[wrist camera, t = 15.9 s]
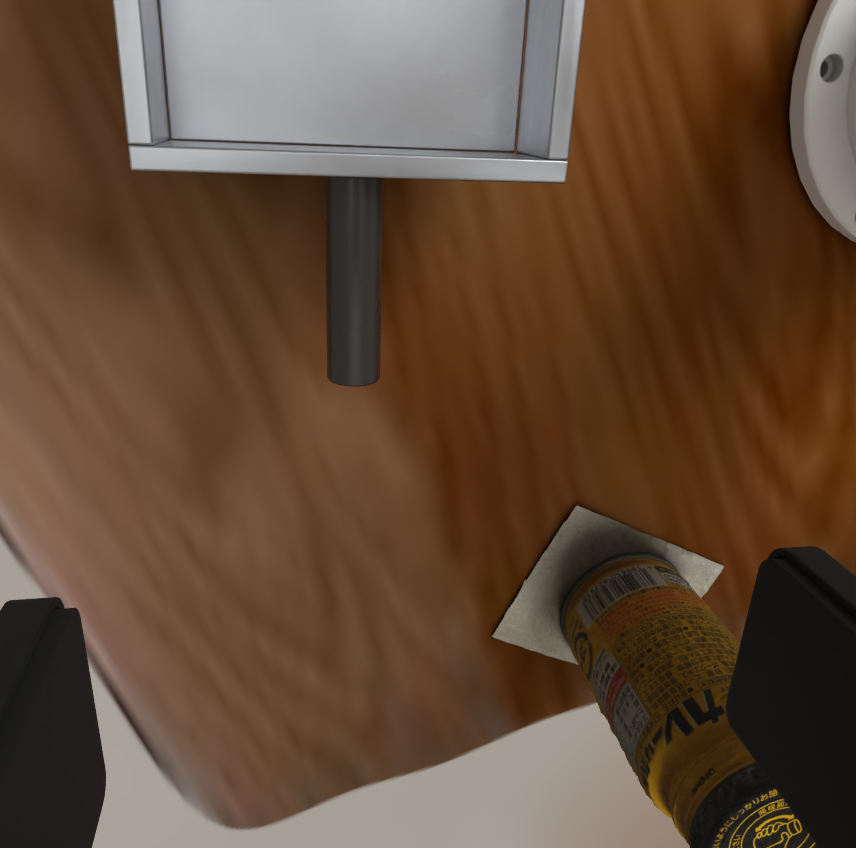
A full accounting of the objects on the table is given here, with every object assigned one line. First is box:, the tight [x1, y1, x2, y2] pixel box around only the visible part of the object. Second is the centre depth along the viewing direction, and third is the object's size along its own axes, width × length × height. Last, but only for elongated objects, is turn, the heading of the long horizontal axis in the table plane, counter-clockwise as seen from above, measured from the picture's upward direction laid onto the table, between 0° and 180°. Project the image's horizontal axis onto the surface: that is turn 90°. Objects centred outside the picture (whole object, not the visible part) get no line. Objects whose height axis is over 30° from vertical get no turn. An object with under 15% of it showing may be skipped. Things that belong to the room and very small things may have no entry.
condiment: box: [492, 506, 819, 848], centre depth 28 cm, size 7×8×12 cm
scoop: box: [112, 0, 586, 387], centre depth 20 cm, size 11×17×4 cm
